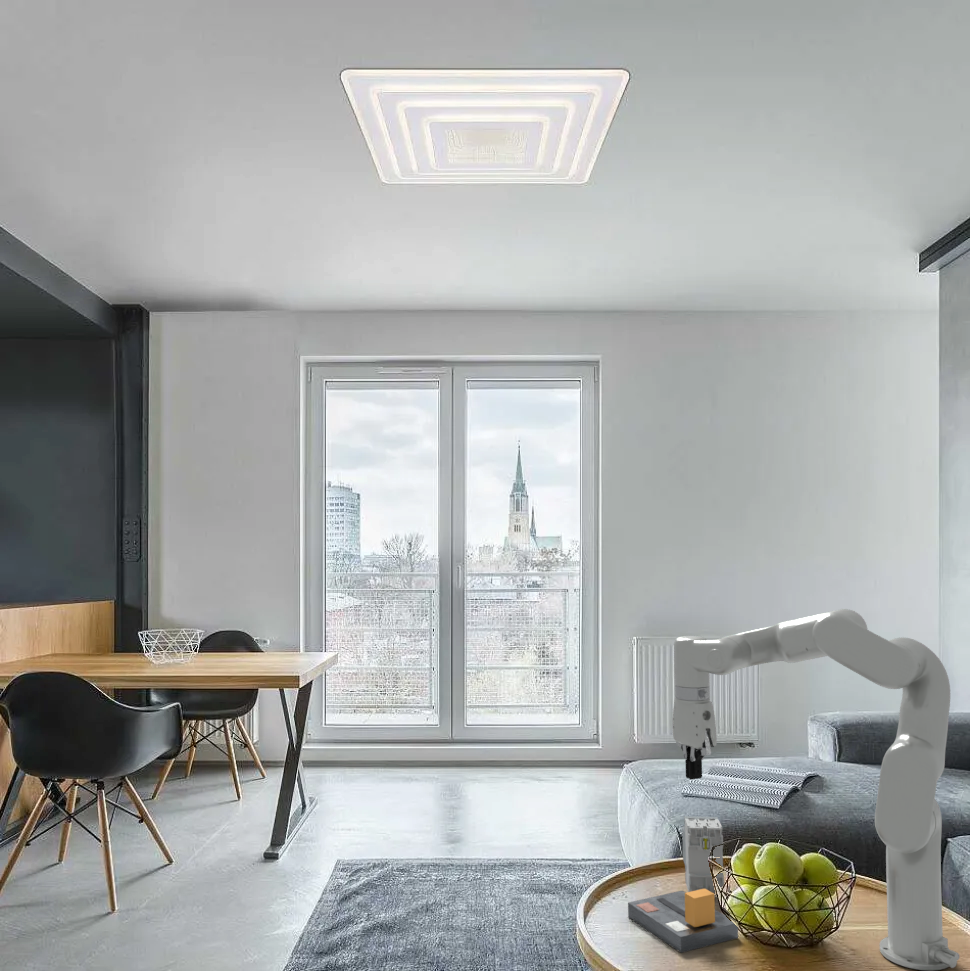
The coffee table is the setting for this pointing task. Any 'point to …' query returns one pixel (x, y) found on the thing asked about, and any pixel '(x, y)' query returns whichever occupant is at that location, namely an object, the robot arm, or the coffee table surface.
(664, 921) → the panel
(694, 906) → the block
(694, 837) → the circuit breaker
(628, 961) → the coffee table surface
